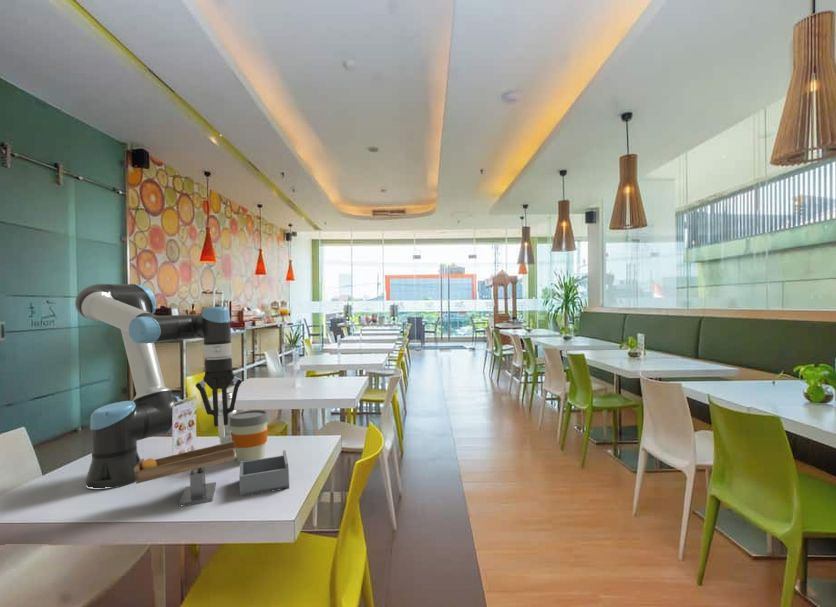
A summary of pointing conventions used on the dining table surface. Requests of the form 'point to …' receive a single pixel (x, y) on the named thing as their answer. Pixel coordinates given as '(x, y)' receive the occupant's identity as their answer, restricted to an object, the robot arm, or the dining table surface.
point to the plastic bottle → (227, 427)
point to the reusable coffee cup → (249, 434)
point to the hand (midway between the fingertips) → (221, 436)
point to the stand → (198, 489)
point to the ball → (149, 464)
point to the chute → (186, 462)
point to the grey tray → (264, 475)
